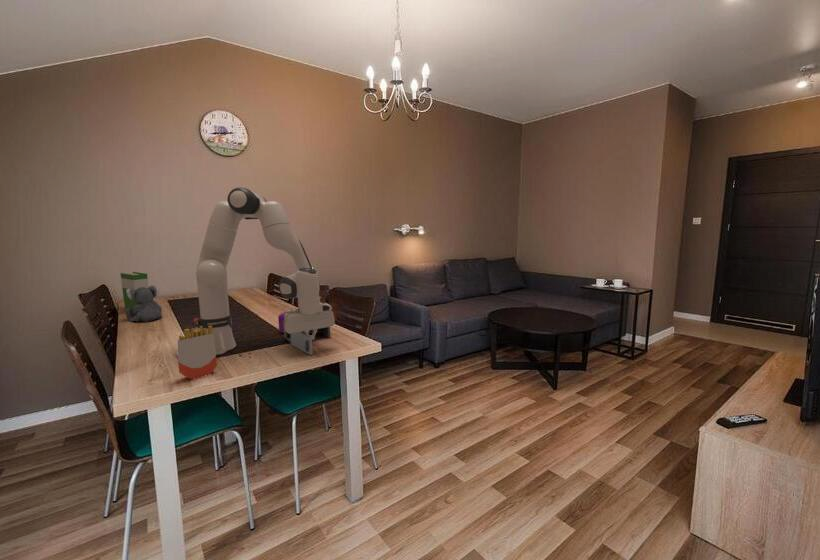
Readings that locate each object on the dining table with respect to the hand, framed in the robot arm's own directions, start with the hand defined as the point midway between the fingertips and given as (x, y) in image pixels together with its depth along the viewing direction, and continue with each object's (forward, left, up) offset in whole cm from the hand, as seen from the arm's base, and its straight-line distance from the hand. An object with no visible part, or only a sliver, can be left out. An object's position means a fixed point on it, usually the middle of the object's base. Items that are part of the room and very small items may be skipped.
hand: (311, 339), depth 154 cm
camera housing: (+5, +19, -5) cm, 20 cm away
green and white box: (-67, +133, -5) cm, 149 cm away
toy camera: (+3, +34, -5) cm, 35 cm away
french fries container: (-41, -2, -5) cm, 42 cm away
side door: (-4, +4, -5) cm, 7 cm away
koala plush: (-61, +106, -5) cm, 123 cm away
